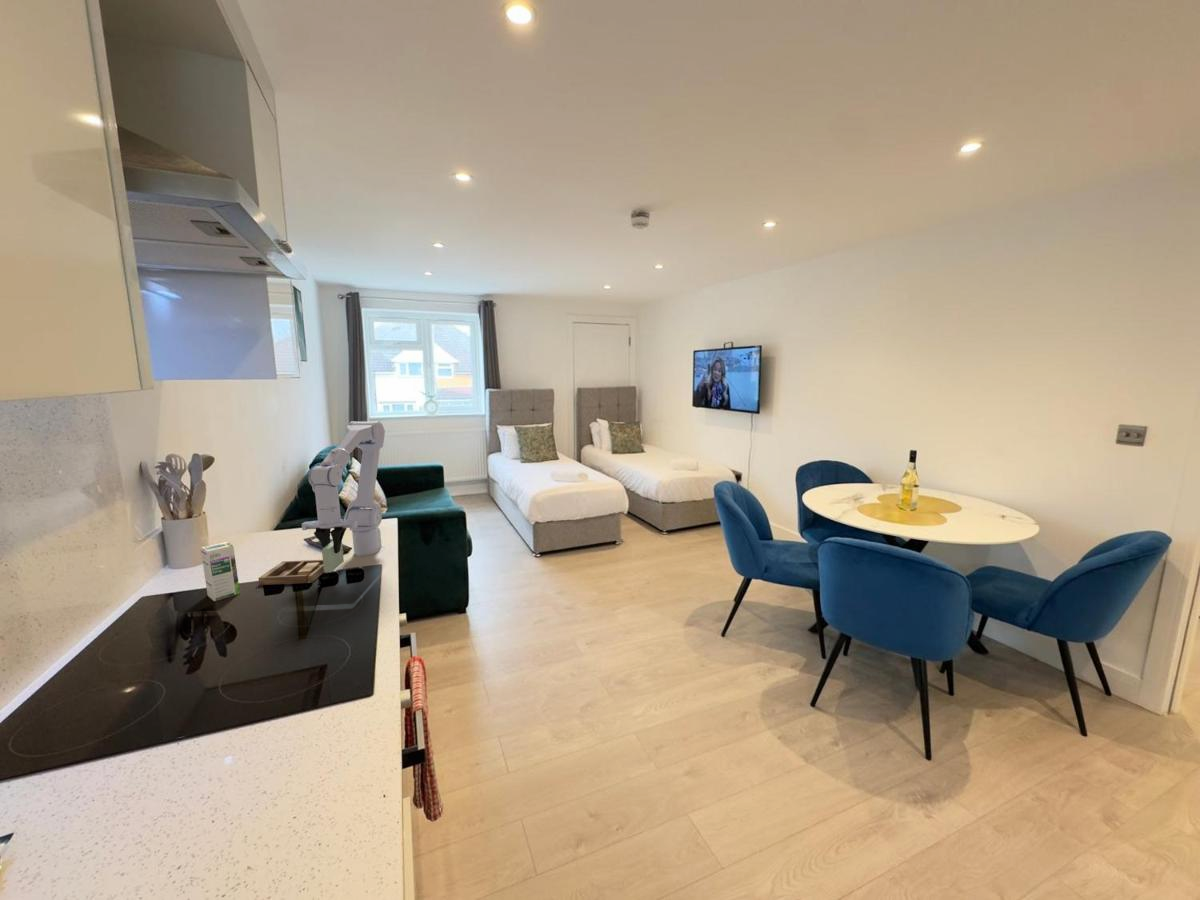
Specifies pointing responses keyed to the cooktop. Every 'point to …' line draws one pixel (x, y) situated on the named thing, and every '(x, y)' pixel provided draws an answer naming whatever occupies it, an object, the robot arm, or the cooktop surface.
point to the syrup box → (220, 571)
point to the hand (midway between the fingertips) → (332, 552)
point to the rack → (290, 573)
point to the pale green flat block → (331, 557)
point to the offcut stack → (309, 569)
